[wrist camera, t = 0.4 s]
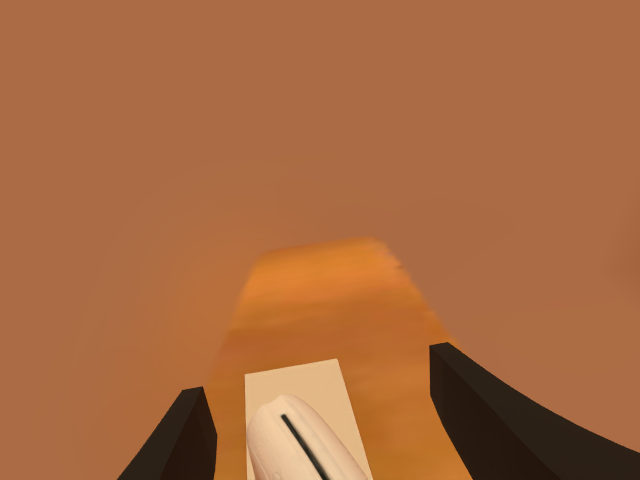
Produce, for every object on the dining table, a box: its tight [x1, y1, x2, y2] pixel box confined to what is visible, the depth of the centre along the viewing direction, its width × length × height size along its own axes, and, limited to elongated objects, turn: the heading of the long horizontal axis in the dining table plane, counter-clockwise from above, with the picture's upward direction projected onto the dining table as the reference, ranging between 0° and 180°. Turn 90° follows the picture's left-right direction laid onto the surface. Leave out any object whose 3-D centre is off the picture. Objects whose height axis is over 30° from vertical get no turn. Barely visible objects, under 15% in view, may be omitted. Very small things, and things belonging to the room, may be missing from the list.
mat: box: [245, 359, 373, 480], centre depth 32 cm, size 12×9×1 cm
